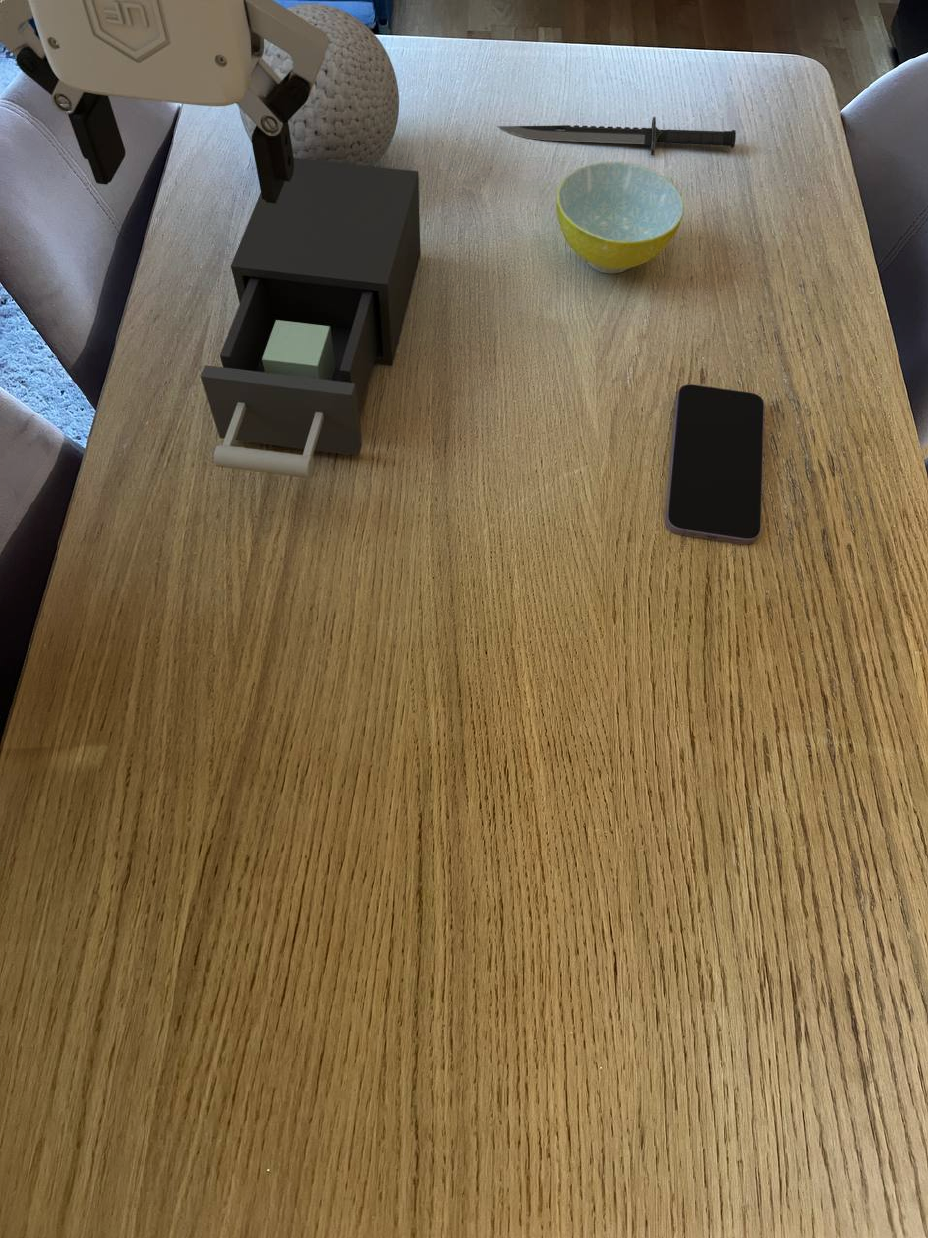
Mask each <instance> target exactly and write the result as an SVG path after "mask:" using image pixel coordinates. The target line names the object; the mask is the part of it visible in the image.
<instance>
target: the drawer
mask: <svg viewBox="0 0 928 1238" xmlns="http://www.w3.org/2000/svg"><path fill="white" fill-rule="evenodd" d="M276 320H281V321H289V322H297V323H306V324H314V325H323V326H330V329H331V337H332V344H333V352H334V359H335V367H336V368H335V371H334V374H333V378H332V381H331V380H322V379H314V378H306V377H298V376H290V375H281V374H273V373H265V370H264V365H263V361H262V358H263V355H264V352H265V349H266V347H267V344H268V341H269V338H270V335H271V333H272V330H273V327H274V324H275V321H276ZM227 333H228V334H227V336H226V339H225V342H224V343H223V346H222V347H221V348H222V349H221V351H220V353H219V358H220V361H221V365H222V366H215V365H207V364H206V365H204V366H203V368H202V371H201V374H200V379H201V382H202V386H203V389H204V392H205V395H206V398H207V402H208V405H209V408H210V411H211V415H212V418H213V421H214V425H215V428H216V431H217V434H218V437H219V439H223V442H222V444H217V445H216V446H215V448H214V450H213V451H214V452H213V463H214V465H215V467H217V468H225V469H232V470H239V471H248V472H255V473H256V472H257V473H264V474H272V475H279V476H288V477H295V478H301V479H311V478H312V475H313V473H314V465H315V464H314V463H315V462H314V458H313V456H314V453H315V451H318V452H325V453H334V454H343V455H349V456H350V455H351V456H360V455H361V451H362V447H363V441H362V440H363V439H362V431H361V422H360V419H361V414H362V410H363V406H364V403H365V399H366V396H367V392H368V388H369V384H370V380H371V378H372V377H371V376H372V373H373V370H374V366H375V364H374V362H375V358H376V354H377V351H378V347H379V343H380V340H381V336H382V334H381V320H380V306H379V292H378V291H373V290H365V289H356V288H348V287H339V286H330V285H322V284H313V283H305V282H296V281H287V280H279V279H270V278H262V277H253V276H251V277H250V279H249V282H248V284H247V287H246V290H245V292H244V295H243V297H242V300H241V302H240V303H239V305H238V308H237V310H236V313H235V316H234V318H233V321H232V323H231V325H230V328H229V331H228V332H227ZM236 441H239V442H247V443H253V444H263V445H270V446H276V447H277V446H278V447H286V448H293V449H301V450H302V449H303V452H302V454H296V453H288V452H281V451H272V450H264V449H256V448H249V447H241V446H235V445H234V444H235V442H236Z"/></svg>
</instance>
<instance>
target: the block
mask: <svg viewBox="0 0 928 1238" xmlns="http://www.w3.org/2000/svg"><path fill="white" fill-rule="evenodd" d="M262 361H263V365H264V370H265V373H273V374H281V375H290V376H298V377H306V378H314V379H322V380H331V381H332V378H333V374H334V371H335V368H336V367H335V359H334V352H333V344H332V337H331V329H330V326H323V325H314V324H306V323H297V322H289V321H281V320H276V321H275V324H274V327H273V330H272V333H271V335H270V338H269V341H268V344H267V347H266V349H265V352H264V355H263V358H262Z"/></svg>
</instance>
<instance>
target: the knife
mask: <svg viewBox="0 0 928 1238" xmlns="http://www.w3.org/2000/svg"><path fill="white" fill-rule="evenodd" d="M497 127H498V128H499V129H501V130H502V131H504V132H507V133H509V134H511V135H514V136H517V137H521V138H526V139H530V140H541V141H553V142H555V141H556V142H557V141H558V142H579V143H580V142H583V143H584V142H585V143H607V144H608V143H609V144H610V143H611V144H636V145H637V144H638V145H644V146H650V156H654V155H655V150H656V149H655V147H656V145H657V144H670V145H671V144H673V145H674V144H675V145H696V146H697V145H698V146H699V145H702V146H723V147H730V148H731V149H733V148H735V145H736V141H737V140H736V137H737V132H736V130H735V129H732V130H724V131H723V130H721V131H719V130H717V131H716V130H695V129H694V130H692V129H691V130H689V129H659V128H658V127H657V118H656V116H652V120H651V127H641V128H640V127H635V126H633V128H631V127H630V126H624V127H621V126H616V127H613V126H610V125H609V126H607V127H605V126H604V125H603V126H602V125H600V126H599V127H597V126H596V125H590V126H587V125H582V126H580V125H577V124H575V125H573V126H572V125H570V124H561V125H560V124H558V125H498V126H497Z"/></svg>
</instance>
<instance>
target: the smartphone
mask: <svg viewBox="0 0 928 1238" xmlns="http://www.w3.org/2000/svg"><path fill="white" fill-rule="evenodd" d="M764 437H765V402H764V398H762V396H761V395H759V394H757V393H755V392H750V391H744V390H743V391H742V390H736V389H729V388H721V387H714V386H707V385H699V384H694V383H693V384H692V383H688V384H683V385H681V386H680V387H679V389H678V390H677V393H676V397H675V407H674V417H673V429H672V439H671V440H672V441H671V451H670V463H669V464H670V465H669V474H668V485H667V497H666V508H665V517H664V518H665V519H664V521H665V526H666V528H667V529H668V531H670V532H671V533H673V534H676V535H679V536H680V535H681V536H684V537H685V536H686V537H693V538H698V539H705V540H711V541H718V542H723V543H724V542H725V543H730V544H738V545H745V546H746V545H752V544H754V543H756V541H757V540H758V538H759V537H760V535H761V532H762V508H763V507H762V506H763V475H764V474H763V473H764V470H763V469H764Z"/></svg>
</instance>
